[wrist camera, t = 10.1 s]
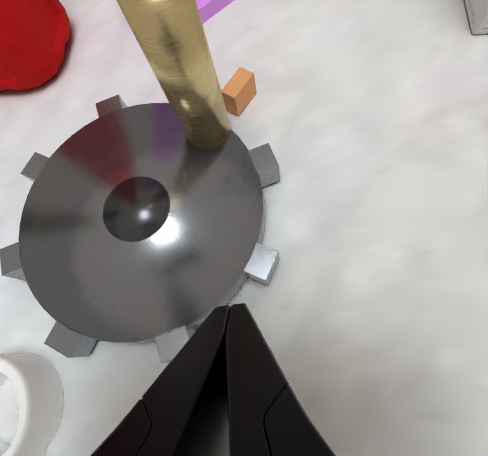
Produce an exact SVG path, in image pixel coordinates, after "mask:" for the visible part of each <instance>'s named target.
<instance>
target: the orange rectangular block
mask: <svg viewBox="0 0 488 456" xmlns="http://www.w3.org/2000/svg"><path fill="white" fill-rule="evenodd" d="M221 92H222V96H223V99H224V103H225V107H226V110H227V111H229V112H231V113H233V114H235V115H237V116H239V115H240V114H241V113H242V111H243V110H244V109H245V107H246V106H247V105H248V103H249V102H250V101H251V99H252V98H253V97H254V95H255V94H256V86H255V79H254V73H252V72H250V71H248V70H245V69H243V68H241V67H239V69H238V70H237V71H236V73H235V74H234V75H233V76H232V78H231V79H230V80H229V82H228V83H227V84H226V85H225V87H224V88H223V89H222V91H221Z"/></svg>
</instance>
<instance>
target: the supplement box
mask: <svg viewBox="0 0 488 456" xmlns="http://www.w3.org/2000/svg"><path fill="white" fill-rule="evenodd" d="M465 4H466V9H467V13H468V18H469V22H470V27H471V31H472V34H488V0H465Z"/></svg>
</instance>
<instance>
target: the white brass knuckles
mask: <svg viewBox="0 0 488 456" xmlns="http://www.w3.org/2000/svg"><path fill="white" fill-rule="evenodd" d="M7 378H9V380H10V381H11V382H12V384H13V386H14V389H15V393H16V399H17V405H18V412H19V420H18V427H17V431H16V434H15V437H14V439H13V441H12V443H11V445H8V444H7V443H6V442H5V441H4V440H3V439H2V437H1V435H0V456H45V451H46V448H47V446H48V445H49V443H50V442H51V440H52V439H53V437H54V435H55V433H56V431H57V429H58V427H59V424H60V421H61V417H62V413H63V406H64V393H63V387H62V383H61V380H60V377H59V375H58V373H57V371H56V370H55V368H54V367H53V366H52V364H51V363H50V362H48V361H47V360H46V359H44V358H43V357H41V356H38V355H35V354H30V353H18V354H0V388H1V387H2V385H3V383H4V382H5V381H6V380H7Z"/></svg>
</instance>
